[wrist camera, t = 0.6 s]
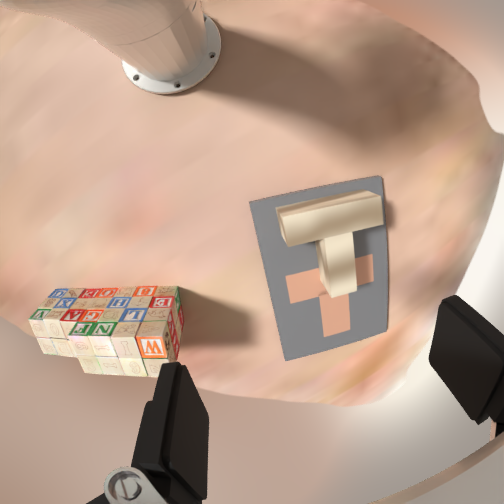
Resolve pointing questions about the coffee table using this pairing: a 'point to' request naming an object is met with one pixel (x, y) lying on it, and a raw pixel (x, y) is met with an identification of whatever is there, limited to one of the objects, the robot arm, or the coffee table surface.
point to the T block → (332, 232)
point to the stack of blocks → (112, 328)
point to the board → (310, 286)
